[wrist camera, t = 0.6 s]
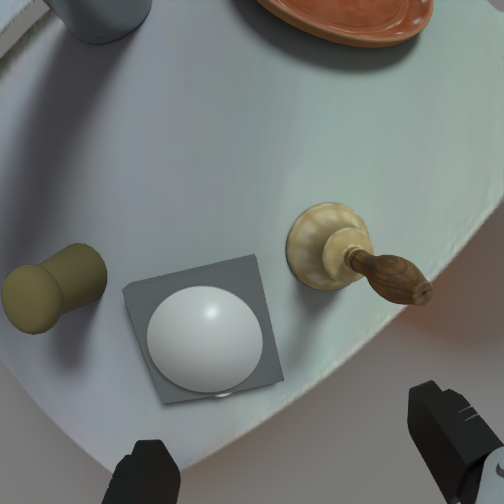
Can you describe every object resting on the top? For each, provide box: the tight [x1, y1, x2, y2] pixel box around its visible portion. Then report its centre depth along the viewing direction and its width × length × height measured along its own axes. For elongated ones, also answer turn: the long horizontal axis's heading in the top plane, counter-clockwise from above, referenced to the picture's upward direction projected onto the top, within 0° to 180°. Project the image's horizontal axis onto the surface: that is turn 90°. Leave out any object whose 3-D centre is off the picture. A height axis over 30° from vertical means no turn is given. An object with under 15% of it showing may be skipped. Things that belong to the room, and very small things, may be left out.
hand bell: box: [286, 203, 433, 306], centre depth 22 cm, size 8×8×16 cm
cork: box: [1, 243, 107, 335], centre depth 23 cm, size 6×6×11 cm
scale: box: [122, 254, 284, 404], centre depth 29 cm, size 12×12×4 cm
